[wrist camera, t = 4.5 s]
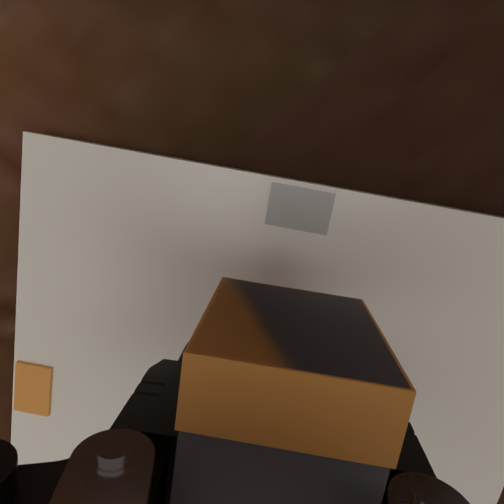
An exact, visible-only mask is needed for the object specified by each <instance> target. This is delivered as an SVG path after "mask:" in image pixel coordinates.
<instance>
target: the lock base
mask: <svg viewBox="0 0 504 504" xmlns="http://www.w3.org/2000/svg"><path fill="white" fill-rule="evenodd" d="M222 277H228V278H234V279H240V280H247V281H253V282H259V283H265V284H271V285H278V286H284V287H290V288H296V289H302V290H309V291H315V292H321V293H327V294H333V295H340V296H346V297H352V298H358V299H363V301H364V302H365V304H366V306H367V308H368V309H369V311H370V313H371V314H372V316H373V318H374V320H375V321H376V323H377V325H378V326H379V328H380V330H381V332H382V333H383V335H384V337H385V338H386V340H387V342H388V344H389V345H390V347H391V349H392V350H393V352H394V354H395V356H396V357H397V359H398V361H399V363H400V364H401V366H402V368H403V369H404V371H405V373H406V375H407V376H408V378H409V380H410V381H411V383H412V385H413V387H414V388H415V390H416V392H417V393H416V397H415V400H414V404H413V408H412V411H411V415H410V419H409V422H410V423H411V425H412V427H413V430H414V434H415V435H416V436H417V438H418V440H419V442H420V444H421V446H422V448H423V450H424V452H425V454H426V456H427V459H428V461H429V463H430V465H431V467H432V469H433V471H434V473H435V475H436V477H437V479H440V480H442V481H443V482H445V483H447V484H448V485H450V486H451V487H453V488H454V489H456V490H457V491H458V492H459V493H460V494H461V495H462V496H463V497H465V498H466V500H467V501H468V502H469V503H470V504H497V502H498V500H499V497H500V494H501V492H502V489H503V487H504V217H502V216H496V215H491V214H485V213H480V212H474V211H469V210H463V209H458V208H452V207H447V206H441V205H436V204H430V203H424V202H419V201H413V200H408V199H402V198H397V197H391V196H386V195H380V194H375V193H369V192H364V191H358V190H353V189H347V188H342V187H336V186H331V185H325V184H320V183H314V182H308V181H303V180H297V179H292V178H286V177H281V176H275V175H270V174H264V173H259V172H253V171H248V170H242V169H237V168H231V167H226V166H220V165H215V164H209V163H204V162H198V161H192V160H187V159H181V158H176V157H170V156H165V155H159V154H154V153H148V152H143V151H137V150H132V149H126V148H121V147H115V146H110V145H104V144H99V143H93V142H87V141H82V140H76V139H71V138H65V137H60V136H54V135H49V134H42V133H33V132H25V131H23V146H22V172H21V197H20V223H19V248H18V274H17V299H16V325H15V350H14V376H13V401H12V427H11V444H12V445H13V446H14V447H15V449H16V450H17V454H18V465H23V464H33V463H43V462H53V461H60V460H64V459H68V458H70V456H71V454H72V452H73V450H74V449H75V448H76V447H77V445H78V444H80V443H81V442H82V441H83V440H85V439H86V438H88V437H89V436H91V435H93V434H96V433H98V432H101V431H105V430H109V429H110V428H111V426H112V424H113V423H114V421H115V420H116V418H117V417H118V415H119V414H120V412H121V411H122V409H123V407H124V406H125V404H126V403H127V401H128V400H129V398H130V397H131V395H132V394H133V393H134V390H135V389H136V387H137V386H138V384H139V383H141V380H142V378H143V377H144V375H145V373H146V372H147V370H148V369H149V368H150V367H151V366H153V365H155V364H156V363H158V362H159V361H161V360H163V359H169V360H176V361H178V359H179V357H180V355H181V353H182V352H183V350H184V348H185V346H186V344H187V343H188V342H189V340H190V339H191V337H192V335H193V333H194V331H195V329H196V327H197V325H198V323H199V321H200V319H201V317H202V315H203V313H204V311H205V310H206V308H207V306H208V304H209V302H210V300H211V298H212V296H213V294H214V292H215V290H216V288H217V286H218V284H219V282H220V280H221V279H222Z"/></svg>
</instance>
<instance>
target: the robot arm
mask: <svg viewBox="0 0 504 504" xmlns="http://www.w3.org/2000/svg"><path fill="white" fill-rule="evenodd" d="M187 344H188V343H187ZM187 344H186V346H187ZM186 346H185V348H186ZM185 348H184V350H185ZM184 350H183V352H184ZM183 352H182V353H181V355H180V357H179V359H178V361H176V360H169V359H163V360H161V361H159V362H158V363H156V364H155V365H153V366H151V367H150V368H149V369H148V370H147V372H146V373H145V375H144V377H143V378H142V380H141V383H139V384H138V386H137V387H136V389H135V390H134V393H133V394H132V395H131V397H130V398H129V400H128V401H127V403H126V404H125V406H124V407H123V409H122V411H121V412H120V414H119V415H118V417H117V418H116V420H115V421H114V423H113V424H112V426H111V428H110V429H109V430H105V431H101V432H98V433H96V434H93V435H91V436H89V437H88V438H86V439H85V440H83V441H82V442H81V443H80V444H78V445H77V447H76V448H75V449H74V450H73V452H72V454H71V456H70V458H68V459H64V460H60V461H53V462H43V463H33V464H23V465H18V454H17V450H16V449H15V447H14V446H13V445H12V444H11V443H9V442H7V441H4V440H1V439H0V504H170V498H171V490H172V481H173V473H174V464H175V456H176V448H177V439H178V431H177V430H174V429H175V420H176V412H177V403H178V394H179V386H180V377H181V368H182V360H183ZM381 504H470V503H469V502H468V501H467V500H466V498H465V497H463V496H462V495H461V494H460V493H459V492H458V491H457V490H456V489H454V488H453V487H451V486H450V485H448V484H447V483H445V482H443V481H442V480H440V479H437V477H436V475H435V473H434V471H433V469H432V467H431V465H430V463H429V461H428V459H427V456H426V454H425V452H424V450H423V448H422V446H421V444H420V442H419V440H418V438H417V436H416V435H415V434H414V430H413V427H412V425H411V423H410V422H409V423H408V426H407V430H406V434H405V437H404V441H403V445H402V448H401V452H400V456H399V460H398V463H397V467H396V469H390V473H389V476H388V480H387V484H386V488H385V491H384V495H383V499H382V503H381Z"/></svg>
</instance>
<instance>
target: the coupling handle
mask: <svg viewBox="0 0 504 504" xmlns="http://www.w3.org/2000/svg"><path fill="white" fill-rule="evenodd" d="M416 393H417V392H416V390H415V388H414V387H413V385H412V383H411V381H410V380H409V378H408V376H407V375H406V373H405V371H404V369H403V368H402V366H401V364H400V363H399V361H398V359H397V357H396V356H395V354H394V352H393V350H392V349H391V347H390V345H389V344H388V342H387V340H386V338H385V337H384V335H383V333H382V332H381V330H380V328H379V326H378V325H377V323H376V321H375V320H374V318H373V316H372V314H371V313H370V311H369V309H368V308H367V306H366V304H365V302H364V301H363V299H358V298H352V297H346V296H340V295H333V294H327V293H321V292H315V291H309V290H302V289H296V288H290V287H284V286H278V285H271V284H265V283H259V282H253V281H247V280H240V279H234V278H228V277H222V279H221V280H220V282H219V284H218V286H217V288H216V290H215V292H214V294H213V296H212V298H211V300H210V302H209V304H208V306H207V308H206V310H205V311H204V313H203V315H202V317H201V319H200V321H199V323H198V325H197V327H196V329H195V331H194V333H193V335H192V337H191V339H190V340H189V342H188V344H187V346H186V348H185V350H184V352H183V360H182V368H181V377H180V386H179V394H178V403H177V412H176V420H175V429H174V430H177V431H178V439H177V448H176V456H175V464H174V473H173V481H172V490H171V498H170V504H381V503H382V499H383V495H384V491H385V488H386V484H387V480H388V476H389V473H390V469H396V467H397V463H398V460H399V456H400V452H401V448H402V445H403V441H404V437H405V434H406V430H407V426H408V423H409V419H410V415H411V411H412V408H413V404H414V400H415V397H416Z"/></svg>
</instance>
